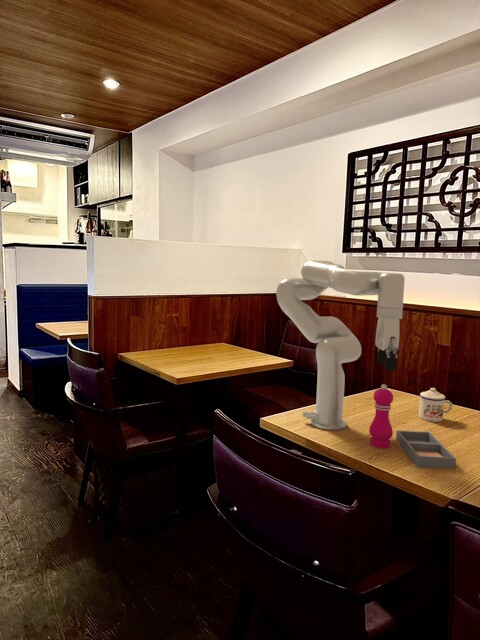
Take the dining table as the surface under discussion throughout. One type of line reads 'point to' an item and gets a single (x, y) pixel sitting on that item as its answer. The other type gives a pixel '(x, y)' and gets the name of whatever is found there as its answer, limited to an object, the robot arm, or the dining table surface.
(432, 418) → the teacup with lid
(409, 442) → the tray
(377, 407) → the pepper mill
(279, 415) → the dining table surface
